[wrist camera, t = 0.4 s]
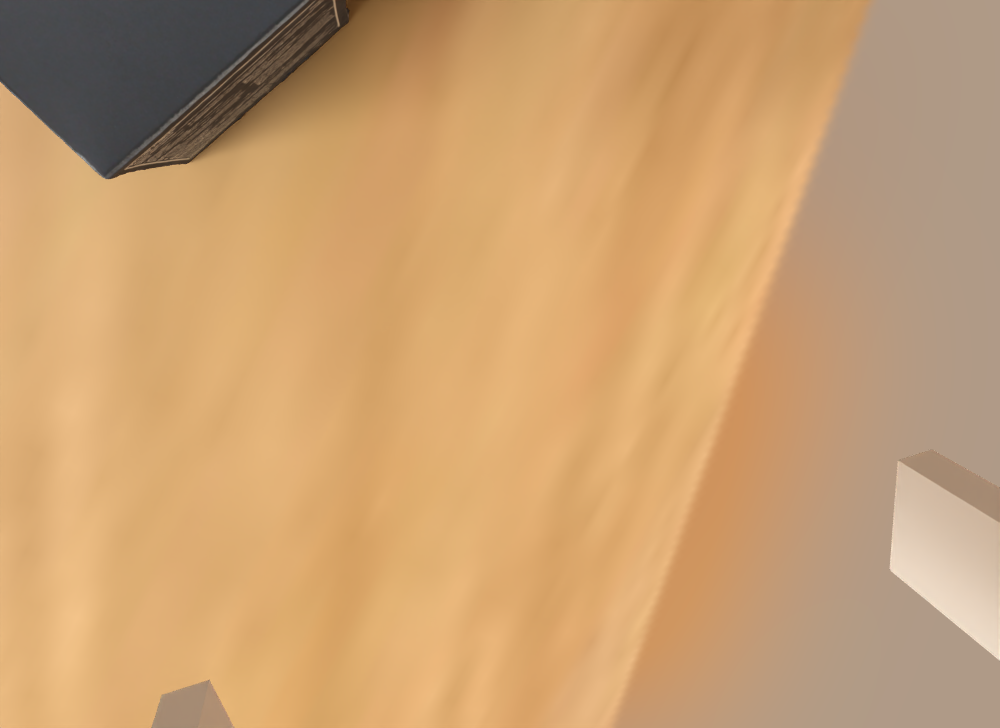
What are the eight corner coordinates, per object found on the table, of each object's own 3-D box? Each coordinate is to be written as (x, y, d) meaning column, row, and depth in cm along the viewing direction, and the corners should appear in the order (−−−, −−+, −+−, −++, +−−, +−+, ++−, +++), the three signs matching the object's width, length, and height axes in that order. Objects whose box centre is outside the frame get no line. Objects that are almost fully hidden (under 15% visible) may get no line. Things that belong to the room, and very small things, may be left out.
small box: (246, -121, 27) (190, -259, 17) (354, 19, 29) (358, -33, 20) (64, 46, 27) (-89, 3, 18) (186, 169, 30) (110, 190, 20)
